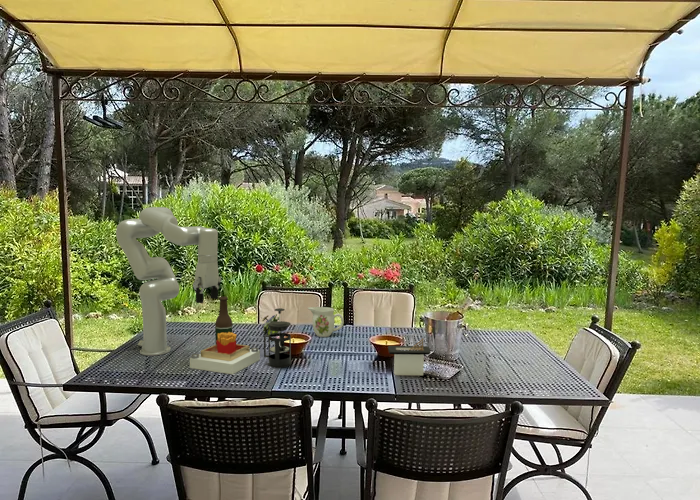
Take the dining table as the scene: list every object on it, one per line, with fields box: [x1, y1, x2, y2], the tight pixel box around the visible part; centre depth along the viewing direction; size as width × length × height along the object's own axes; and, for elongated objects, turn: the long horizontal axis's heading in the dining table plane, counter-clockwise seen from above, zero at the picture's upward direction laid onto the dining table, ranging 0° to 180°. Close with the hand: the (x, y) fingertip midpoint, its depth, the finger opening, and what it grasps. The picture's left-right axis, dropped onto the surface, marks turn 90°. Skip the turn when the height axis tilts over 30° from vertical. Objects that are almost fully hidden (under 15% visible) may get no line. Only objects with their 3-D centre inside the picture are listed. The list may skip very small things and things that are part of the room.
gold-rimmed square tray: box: [189, 343, 261, 375], centre depth 213 cm, size 20×20×6 cm
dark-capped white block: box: [387, 337, 431, 376], centre depth 203 cm, size 35×28×14 cm
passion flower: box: [262, 313, 282, 335], centre depth 262 cm, size 11×11×12 cm
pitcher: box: [307, 306, 345, 338], centre depth 259 cm, size 11×18×14 cm, turn 88°
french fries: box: [215, 331, 238, 354], centre depth 214 cm, size 8×4×12 cm, turn 75°
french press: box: [263, 308, 292, 369], centre depth 213 cm, size 12×9×23 cm
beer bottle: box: [214, 296, 233, 345], centre depth 232 cm, size 8×8×24 cm
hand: (207, 300), depth 212 cm, fingers open, 9 cm apart
